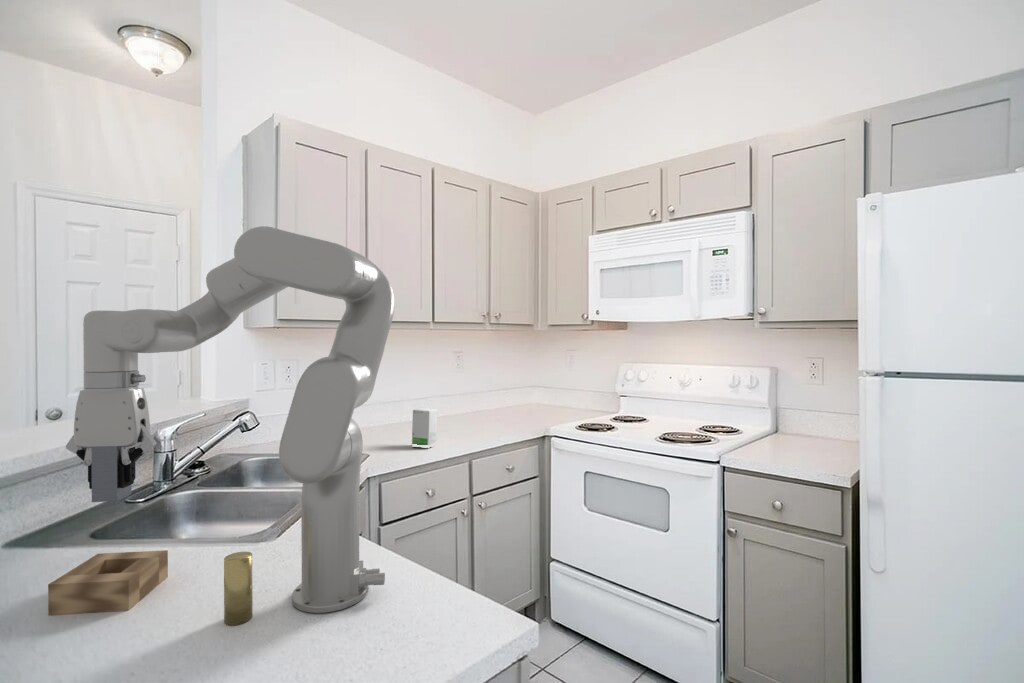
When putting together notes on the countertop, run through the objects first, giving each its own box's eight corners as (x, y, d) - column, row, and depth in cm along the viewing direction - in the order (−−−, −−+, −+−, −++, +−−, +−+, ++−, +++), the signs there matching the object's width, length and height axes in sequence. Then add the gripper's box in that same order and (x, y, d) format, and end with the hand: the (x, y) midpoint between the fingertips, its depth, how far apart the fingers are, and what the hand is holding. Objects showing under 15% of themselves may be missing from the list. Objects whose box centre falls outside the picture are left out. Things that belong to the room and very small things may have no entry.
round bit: (256, 611, 85) (256, 550, 85) (246, 625, 81) (246, 561, 81) (230, 613, 84) (230, 552, 84) (219, 626, 80) (219, 562, 80)
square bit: (131, 494, 92) (131, 438, 92) (117, 501, 88) (117, 443, 88) (107, 495, 92) (106, 439, 92) (91, 502, 88) (91, 443, 88)
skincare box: (411, 447, 210) (411, 409, 210) (420, 444, 216) (420, 407, 216) (429, 449, 207) (429, 410, 207) (437, 446, 213) (437, 408, 213)
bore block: (167, 576, 97) (167, 550, 97) (128, 610, 85) (128, 580, 85) (98, 580, 95) (97, 553, 95) (48, 615, 83) (48, 584, 83)
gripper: (174, 379, 95) (174, 478, 95) (74, 380, 93) (74, 481, 93) (151, 383, 87) (151, 491, 87) (41, 384, 85) (42, 494, 85)
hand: (112, 485), depth 90 cm, fingers closed on square bit, 4 cm apart
